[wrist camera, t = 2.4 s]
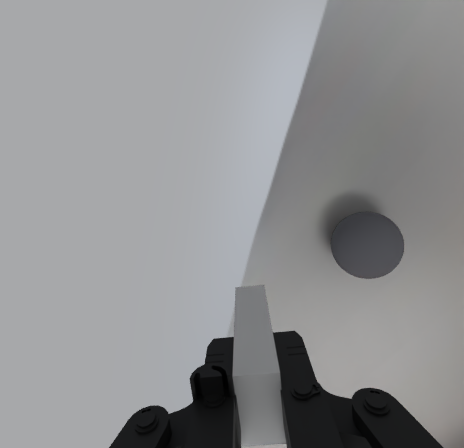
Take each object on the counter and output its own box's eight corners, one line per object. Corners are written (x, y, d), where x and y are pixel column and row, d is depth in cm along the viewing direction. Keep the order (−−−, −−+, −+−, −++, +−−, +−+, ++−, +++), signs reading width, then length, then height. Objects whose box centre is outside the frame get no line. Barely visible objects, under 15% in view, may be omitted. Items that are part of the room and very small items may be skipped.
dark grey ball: (389, 256, 28) (424, 279, 23) (331, 271, 28) (351, 297, 23) (378, 199, 27) (412, 209, 21) (317, 216, 27) (335, 230, 22)
